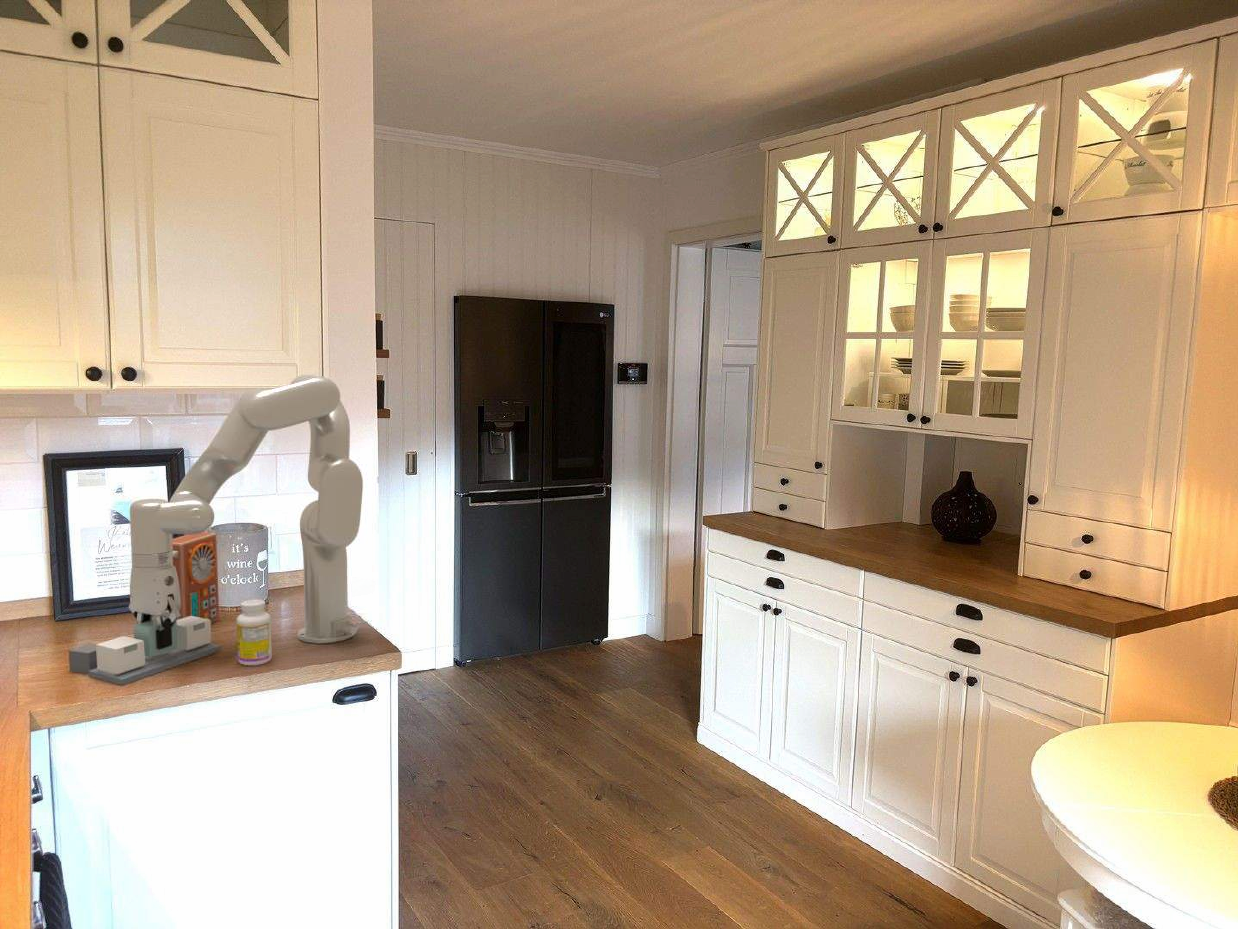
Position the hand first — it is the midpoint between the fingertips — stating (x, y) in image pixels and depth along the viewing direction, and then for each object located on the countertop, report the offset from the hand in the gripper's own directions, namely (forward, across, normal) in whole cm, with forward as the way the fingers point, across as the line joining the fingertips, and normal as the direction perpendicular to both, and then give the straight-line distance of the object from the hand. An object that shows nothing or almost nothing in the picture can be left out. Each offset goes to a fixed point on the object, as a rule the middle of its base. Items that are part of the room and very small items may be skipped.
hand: (155, 644), depth 186 cm
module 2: (+1, 0, 0) cm, 1 cm away
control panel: (+4, +14, -21) cm, 26 cm away
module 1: (+4, +9, +8) cm, 13 cm away
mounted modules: (+2, 0, 0) cm, 2 cm away
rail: (+3, 0, 0) cm, 3 cm away
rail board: (+4, 0, 0) cm, 4 cm away
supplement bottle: (+4, -17, -11) cm, 20 cm away
